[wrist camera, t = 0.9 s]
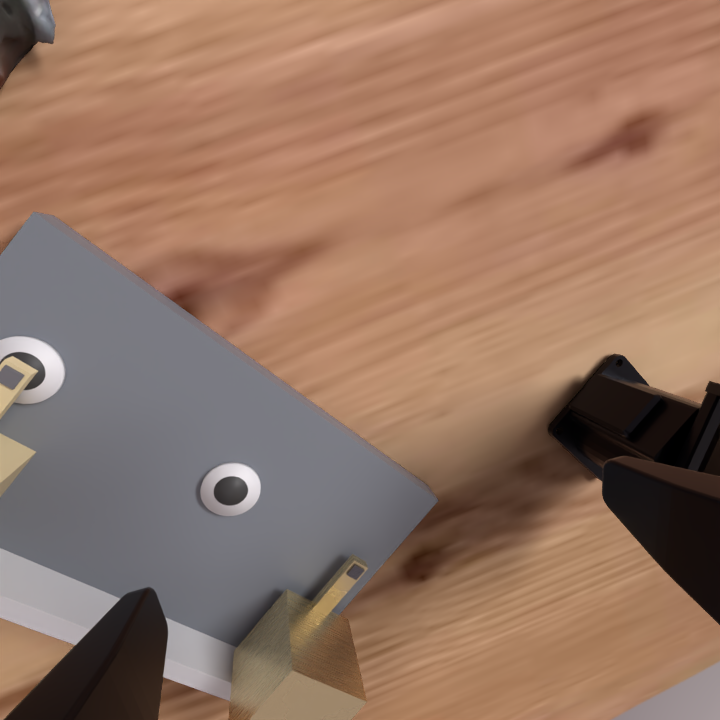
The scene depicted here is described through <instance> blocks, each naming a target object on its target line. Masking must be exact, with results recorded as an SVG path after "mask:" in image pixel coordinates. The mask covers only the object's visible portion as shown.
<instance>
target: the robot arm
mask: <svg viewBox="0 0 720 720" xmlns="http://www.w3.org/2000/svg"><path fill="white" fill-rule="evenodd" d="M616 362H617V363H616ZM705 391H706V392H707V393H706V395H705V398H704V400H703V402H702V404H700V403H697V402H694V401H691V400H688V399H685V398H682V397H680V396H677V395H674V394H671V393H668V392H665V391H662V390H659V389H656V388H653V387H650V386H649V385H648V383H647V382H646V381H645V380H644V379H643V378H642V376H641V375H640V374H639V373H638V372H637V371H636V369H635V368H634V367H633V366H632V365H631V364H630V362H629V361H628V360H627V359H626V358H625V357H624V356H623V355H619V354H613V355H611V356H610V357H609V358H608V359H607V360H606V362H605V363H604V364H603V365H602V366H601V367H600V368H599V370H598V371H597V372H596V373H595V374H594V375H593V376H592V377H591V379H590V380H589V381H588V382H587V383H586V384H585V385H584V387H583V388H582V389H581V390H580V391H579V392H578V393H577V395H576V396H575V397H574V398H573V399H572V400H571V401H570V403H569V404H568V405H567V406H566V407H565V408H564V409H563V411H562V412H561V413H560V414H559V415H558V416H557V417H556V419H555V420H554V421H553V422H552V423H551V424H550V426H549V428H548V432H549V434H550V435H551V436H552V437H553V438H554V439H555V440H557V441H558V442H559V443H560V444H561V445H562V446H563V447H564V448H565V449H566V450H567V451H568V452H569V453H571V454H572V455H573V456H574V457H575V458H576V459H577V460H578V461H579V462H580V463H581V464H582V465H584V466H585V467H586V468H587V469H588V470H589V471H590V472H591V473H592V474H593V475H594V476H595V477H596V478H598V479H599V480H601V481H602V495H603V499H604V501H605V503H606V505H607V506H608V507H609V509H610V510H611V511H612V512H613V513H614V514H615V515H616V517H617V518H618V519H619V520H620V521H621V522H622V523H623V525H624V526H625V527H626V528H627V529H628V530H629V531H630V533H631V534H632V535H633V536H634V537H635V538H636V539H637V540H638V542H639V543H640V544H641V545H642V546H643V547H644V548H645V550H646V551H647V552H648V553H649V554H650V555H651V556H652V558H653V559H654V560H655V561H656V562H657V563H658V564H659V565H660V566H661V567H662V569H663V570H664V571H665V572H666V573H667V574H668V575H669V576H670V577H671V578H672V579H673V580H674V581H675V582H676V583H677V584H678V585H679V586H680V587H681V588H682V589H683V590H684V591H685V592H686V593H687V594H688V595H689V596H691V597H692V598H693V599H694V600H695V601H696V602H697V603H698V604H699V605H700V606H701V607H702V608H703V609H704V610H705V611H706V612H707V613H708V614H709V615H710V616H711V617H712V618H713V619H714V620H715V621H716V622H717V623H718V624H719V625H720V384H719V383H715V382H711V381H709V383H708V385H707V387H706V390H705ZM558 428H559V429H558ZM557 429H558V431H556V430H557ZM167 641H168V625H167V621H166V618H165V615H164V613H163V610H162V607H161V604H160V602H159V599H158V596H157V594H156V592H155V590H154V589H153V588H151V587H146V588H142V589H139V590H135V591H131V592H129V593H126V594H125V595H124V596H123V597H122V598H121V599H120V600H119V601H118V602H117V603H116V604H115V605H114V606H113V607H112V608H111V609H110V610H109V611H108V612H107V613H106V614H105V615H104V616H103V617H102V618H101V619H100V620H99V621H98V622H97V623H96V624H95V626H94V627H93V628H92V629H91V630H90V631H89V632H88V633H87V634H86V635H85V636H84V637H83V638H82V639H81V640H80V641H79V642H78V643H77V644H76V645H75V646H74V647H73V648H72V649H71V650H70V651H69V652H68V653H67V654H66V656H65V657H64V658H63V659H62V660H61V661H60V662H59V663H58V664H57V665H56V666H55V667H54V668H53V669H52V670H51V671H50V672H49V673H48V674H47V675H46V676H45V677H44V678H43V679H42V680H41V681H40V682H39V683H38V685H37V686H36V687H35V688H34V689H33V690H32V691H31V692H30V693H29V694H28V695H27V696H26V697H25V698H24V699H23V700H22V701H21V702H20V703H19V704H18V705H17V706H16V707H15V708H14V709H13V710H12V711H11V712H10V713H9V715H8V716H7V717H6V718H5V719H4V720H158V714H159V706H160V698H161V690H162V682H163V674H164V666H165V658H166V649H167Z"/></svg>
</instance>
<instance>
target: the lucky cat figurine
mask: <svg viewBox="0 0 720 720" xmlns="http://www.w3.org/2000/svg"><path fill="white" fill-rule="evenodd" d="M54 29H55V21H54V18H53V15H52V11H51V7H50V3H49V0H0V89H1V87H2V86H3V84H4V82H5V81H6V79H7V78H8V76H9V74H10V73H11V71H12V70H13V69H14V68H15V67H16V65H17V64H18V63H19V62H20V61H21V59H22V58H23V57H24V56H25V55H26V54H27V53H28V52H29V51H30V50H31V49H32V48H33V46H34V45H35V44H37V42H38V41H39V42H42V43H50V44H53V40H54Z"/></svg>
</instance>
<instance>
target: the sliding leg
mask: <svg viewBox="0 0 720 720" xmlns="http://www.w3.org/2000/svg"><path fill="white" fill-rule="evenodd" d="M367 569H368V566H367V563H366V561H364V560H362V559H360V558H359V557H357V556H355V555H354V554H352V555H351V556H350V557H349V559H348V560H347V561H346V562H345V563H344V564H343V565H342V567H341V568H340V569H339V570H338V571H337V572H336V574H335V575H334V576H333V577H332V578H331V579H330V581H329V582H328V583H327V584H326V585H325V586H324V587H323V589H322V590H321V591H320V592H319V593H318V594H317V596H316V597H315V598H314V599H313V600H312V601H310V600H308V599H306V598H304V597H302V596H300V595H298V594H296V593H294V592H292V591H290V590H288V589H286V590H285V592H284V593H283V594H282V595H281V596H280V597H279V599H278V600H277V601H276V602H275V603H274V604H273V606H272V607H271V608H270V609H269V610H268V611H267V613H266V614H265V615H264V616H263V617H262V618H261V620H260V621H259V622H258V623H257V624H256V625H255V627H254V628H253V629H252V630H251V631H250V632H249V634H248V635H247V636H246V637H245V638H244V639H243V641H242V642H241V643H240V644H239V645H238V646H237V648H236V649H235V650H234V657H233V669H232V682H231V695H230V708H229V720H351V719H352V718H353V717H354V716H355V715H356V714H357V712H358V711H359V710H360V709H361V708H362V707H363V706H364V705H365V703H366V702H367V700H366V696H365V691H364V687H363V683H362V678H361V674H360V669H359V665H358V661H357V656H356V652H355V647H354V643H353V639H352V634H351V630H350V626H349V621H348V619H346V618H344V617H342V616H340V615H338V614H336V613H334V612H332V609H333V608H334V607H335V606H336V605H337V604H338V603H339V601H340V600H341V599H342V598H343V597H344V596H345V595H346V593H347V592H348V591H349V590H350V589H351V588H352V586H353V585H354V584H355V583H356V582H357V581H358V580H359V578H360V577H361V576H362V575H363V574H364V573H365V571H366V570H367Z"/></svg>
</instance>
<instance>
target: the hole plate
mask: <svg viewBox="0 0 720 720" xmlns="http://www.w3.org/2000/svg"><path fill="white" fill-rule="evenodd" d="M438 501H439V500H438V499H437V497H436V496H435V495H434V493H433V492H432V490H431V489H430V488H429V486H428V485H426V484H425V483H424V482H422V481H421V480H419V479H418V478H417V477H415V476H414V475H412V474H411V473H410V472H408V471H407V470H405V469H404V468H403V467H401V466H400V465H399V464H397V463H396V462H394V461H393V460H392V459H390V458H389V457H387V456H386V455H385V454H383V453H382V452H381V451H379V450H378V449H376V448H375V447H374V446H372V445H371V444H369V443H368V442H367V441H365V440H364V439H363V438H361V437H360V436H358V435H357V434H356V433H354V432H353V431H351V430H350V429H349V428H347V427H346V426H345V425H343V424H342V423H340V422H339V421H338V420H336V419H335V418H333V417H332V416H331V415H329V414H328V413H327V412H325V411H324V410H322V409H321V408H320V407H318V406H317V405H315V404H314V403H313V402H311V401H310V400H309V399H307V398H306V397H304V396H303V395H302V394H300V393H299V392H297V391H296V390H295V389H293V388H292V387H291V386H289V385H288V384H286V383H285V382H284V381H282V380H281V379H279V378H278V377H277V376H275V375H274V374H272V373H271V372H270V371H268V370H267V369H266V368H264V367H263V366H261V365H260V364H259V363H257V362H256V361H254V360H253V359H252V358H250V357H249V356H248V355H246V354H245V353H243V352H242V351H241V350H239V349H238V348H236V347H235V346H234V345H232V344H231V343H230V342H228V341H227V340H225V339H224V338H223V337H221V336H220V335H218V334H217V333H216V332H214V331H213V330H212V329H210V328H209V327H207V326H206V325H205V324H203V323H202V322H200V321H199V320H198V319H196V318H195V317H194V316H192V315H191V314H189V313H188V312H187V311H185V310H184V309H182V308H181V307H180V306H178V305H177V304H176V303H174V302H173V301H171V300H170V299H169V298H167V297H166V296H164V295H163V294H162V293H160V292H159V291H158V290H156V289H155V288H153V287H152V286H151V285H149V284H148V283H146V282H145V281H144V280H142V279H141V278H139V277H138V276H137V275H135V274H134V273H133V272H131V271H130V270H128V269H127V268H126V267H124V266H123V265H121V264H120V263H119V262H117V261H116V260H115V259H113V258H112V257H110V256H109V255H108V254H106V253H105V252H103V251H102V250H101V249H99V248H98V247H97V246H95V245H94V244H92V243H91V242H90V241H88V240H87V239H85V238H84V237H83V236H81V235H80V234H79V233H77V232H76V231H74V230H73V229H72V228H70V227H69V226H67V225H66V224H65V223H63V222H62V221H61V220H59V219H58V218H56V217H55V216H53V215H48V214H43V213H38V212H33V213H32V215H31V216H30V217H29V219H28V220H27V221H26V222H25V224H24V225H23V226H22V228H21V229H20V230H19V232H18V233H17V234H16V235H15V237H14V238H13V239H12V241H11V242H10V243H9V245H8V246H7V247H6V248H5V250H4V251H3V252H2V254H1V255H0V618H2V619H5V620H7V621H10V622H13V623H16V624H18V625H21V626H24V627H27V628H29V629H32V630H35V631H38V632H41V633H43V634H46V635H49V636H52V637H54V638H57V639H60V640H63V641H65V642H68V643H71V644H74V645H76V644H77V643H78V642H79V641H80V640H81V639H82V638H83V637H84V636H85V635H86V634H87V633H88V632H89V631H90V630H91V629H92V628H93V627H94V626H95V624H96V623H97V622H98V621H99V620H100V619H101V618H102V617H103V616H104V615H105V614H106V613H107V612H108V611H109V610H110V609H111V608H112V607H113V606H114V605H115V604H116V603H117V602H118V601H119V600H120V599H121V598H122V597H123V596H124V595H125V594H126V593H129V592H131V591H135V590H139V589H142V588H146V587H151V588H153V589H154V590H155V592H156V594H157V596H158V599H159V602H160V604H161V607H162V610H163V613H164V615H165V618H166V621H167V625H168V641H167V649H166V658H165V666H164V674H163V677H164V678H167V679H170V680H173V681H175V682H178V683H181V684H184V685H186V686H189V687H192V688H195V689H197V690H200V691H203V692H206V693H208V694H211V695H214V696H217V697H219V698H222V699H225V700H228V701H230V695H231V682H232V669H233V657H234V650H235V649H236V648H237V646H238V645H239V644H240V643H241V642H242V641H243V639H244V638H245V637H246V636H247V635H248V634H249V632H250V631H251V630H252V629H253V628H254V627H255V625H256V624H257V623H258V622H259V621H260V620H261V618H262V617H263V616H264V615H265V614H266V613H267V611H268V610H269V609H270V608H271V607H272V606H273V604H274V603H275V602H276V601H277V600H278V599H279V597H280V596H281V595H282V594H283V593H284V592H285V590H286V589H288V590H290V591H292V592H294V593H296V594H298V595H300V596H302V597H304V598H306V599H308V600H310V601H312V600H313V599H314V598H315V597H316V596H317V594H318V593H319V592H320V591H321V590H322V589H323V587H324V586H325V585H326V584H327V583H328V582H329V581H330V579H331V578H332V577H333V576H334V575H335V574H336V572H337V571H338V570H339V569H340V568H341V567H342V565H343V564H344V563H345V562H346V561H347V560H348V559H349V557H350V556H351V555H352V554H354V555H355V556H357V557H359V558H360V559H362V560H364V561H366V563H367V566H368V569H367V570H366V571H365V573H364V574H363V575H362V576H361V577H360V578H359V580H358V581H357V582H356V583H355V584H354V585H353V586H352V588H351V589H350V590H349V591H348V592H347V593H346V595H345V596H344V597H343V598H342V599H341V600H340V601H339V603H338V604H337V605H336V606H335V607H334V608H333V609H332V612H334V613H336V614H338V615H339V614H340V613H341V612H342V611H343V610H344V609H345V607H346V606H347V605H348V604H349V603H350V602H351V600H352V599H353V598H354V597H355V596H356V595H357V594H358V592H359V591H360V590H361V589H362V588H363V587H364V586H365V584H366V583H367V582H368V581H369V580H370V579H371V578H372V576H373V575H374V574H375V573H376V572H377V571H378V569H379V568H380V567H381V566H382V565H383V564H384V563H385V561H386V560H387V559H388V558H389V557H390V556H391V555H392V553H393V552H394V551H395V550H396V549H397V548H398V546H399V545H400V544H401V543H402V542H403V541H404V540H405V538H406V537H407V536H408V535H409V534H410V533H411V532H412V530H413V529H414V528H415V527H416V526H417V525H418V523H419V522H420V521H421V520H422V519H423V518H424V517H425V515H426V514H427V513H428V512H429V511H430V510H431V509H432V507H433V506H434V505H435V504H436V503H437V502H438Z"/></svg>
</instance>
